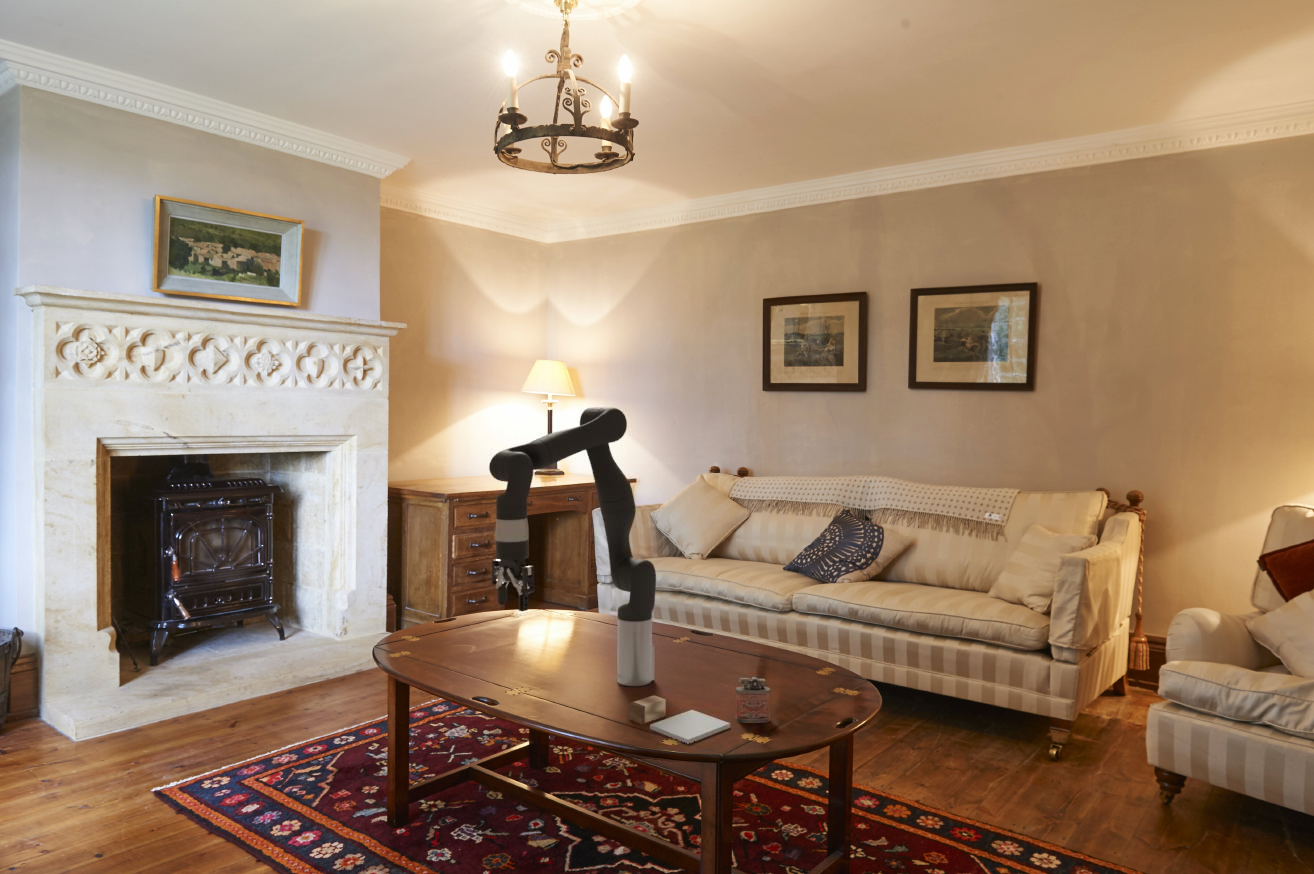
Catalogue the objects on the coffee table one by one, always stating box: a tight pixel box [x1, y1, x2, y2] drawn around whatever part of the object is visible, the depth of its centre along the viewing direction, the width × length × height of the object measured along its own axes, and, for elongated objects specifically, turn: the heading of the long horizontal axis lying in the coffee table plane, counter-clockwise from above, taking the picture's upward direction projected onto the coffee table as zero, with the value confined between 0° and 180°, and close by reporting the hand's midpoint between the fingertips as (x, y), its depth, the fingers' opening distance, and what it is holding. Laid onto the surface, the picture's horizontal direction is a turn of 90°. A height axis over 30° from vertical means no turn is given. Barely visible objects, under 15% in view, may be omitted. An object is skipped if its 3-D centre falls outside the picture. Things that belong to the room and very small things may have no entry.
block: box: [628, 694, 667, 725], centre depth 194 cm, size 8×4×4 cm, turn 134°
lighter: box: [735, 676, 771, 724], centre depth 193 cm, size 8×3×10 cm, turn 92°
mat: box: [649, 709, 731, 745], centre depth 188 cm, size 14×12×1 cm
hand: (512, 607), depth 190 cm, fingers open, 8 cm apart
